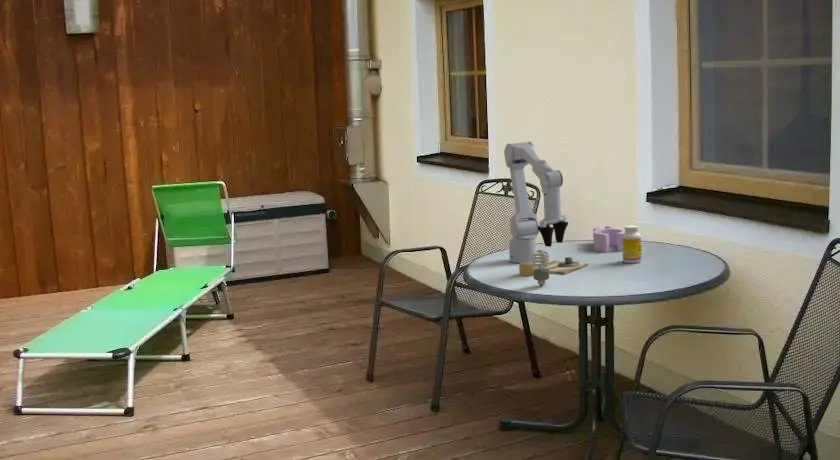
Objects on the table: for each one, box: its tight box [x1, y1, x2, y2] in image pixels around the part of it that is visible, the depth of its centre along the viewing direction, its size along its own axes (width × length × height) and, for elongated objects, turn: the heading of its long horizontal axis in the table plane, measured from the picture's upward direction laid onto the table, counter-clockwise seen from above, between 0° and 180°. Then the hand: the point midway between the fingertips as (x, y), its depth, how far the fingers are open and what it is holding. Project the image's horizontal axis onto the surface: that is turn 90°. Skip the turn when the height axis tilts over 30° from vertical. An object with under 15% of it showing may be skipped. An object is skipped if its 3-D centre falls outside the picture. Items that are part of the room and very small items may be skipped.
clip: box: [592, 225, 625, 254], centre depth 375 cm, size 20×12×7 cm, turn 3°
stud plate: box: [536, 256, 589, 275], centre depth 342 cm, size 14×16×3 cm
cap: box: [518, 262, 537, 277], centre depth 335 cm, size 5×5×4 cm
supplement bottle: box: [622, 224, 643, 264], centre depth 345 cm, size 7×7×13 cm
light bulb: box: [532, 249, 550, 287], centre depth 316 cm, size 6×6×12 cm
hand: (553, 244), depth 336 cm, fingers open, 7 cm apart
